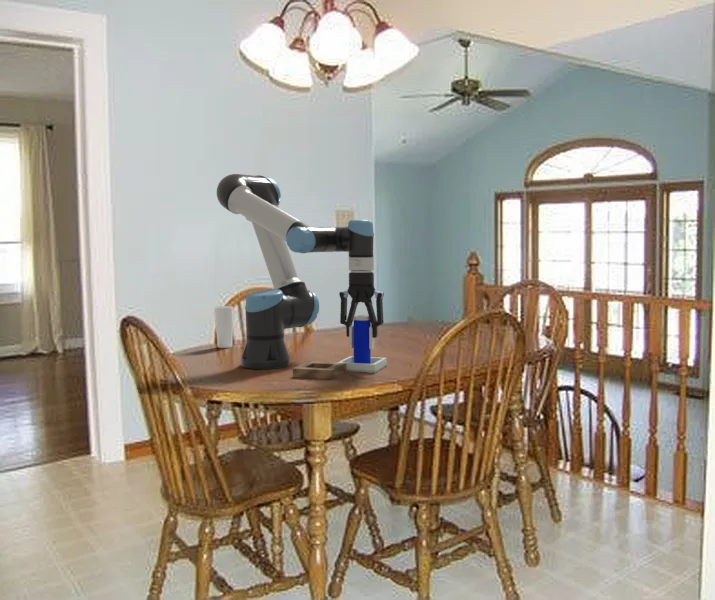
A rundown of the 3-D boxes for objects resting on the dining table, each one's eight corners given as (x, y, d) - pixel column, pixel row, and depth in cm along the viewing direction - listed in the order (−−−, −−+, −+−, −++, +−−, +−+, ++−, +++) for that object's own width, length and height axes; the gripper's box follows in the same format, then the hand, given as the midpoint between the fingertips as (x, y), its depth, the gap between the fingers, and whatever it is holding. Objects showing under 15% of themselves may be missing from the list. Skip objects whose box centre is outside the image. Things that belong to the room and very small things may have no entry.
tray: (336, 370, 208) (336, 362, 208) (350, 364, 220) (350, 356, 219) (375, 373, 204) (375, 364, 204) (386, 365, 216) (386, 357, 215)
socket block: (292, 377, 200) (292, 368, 200) (309, 369, 211) (308, 361, 211) (331, 379, 196) (331, 370, 196) (346, 371, 207) (346, 363, 207)
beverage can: (373, 365, 211) (374, 316, 210) (360, 367, 208) (360, 317, 207) (363, 363, 215) (363, 314, 214) (350, 364, 212) (350, 316, 211)
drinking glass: (214, 346, 259) (213, 306, 257) (232, 345, 261) (231, 305, 259) (216, 349, 252) (215, 308, 251) (235, 348, 254) (234, 307, 253)
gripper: (327, 272, 209) (328, 348, 211) (387, 272, 203) (388, 351, 205) (336, 270, 216) (337, 344, 218) (394, 271, 210) (395, 347, 212)
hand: (362, 347), depth 211 cm, fingers open, 6 cm apart
